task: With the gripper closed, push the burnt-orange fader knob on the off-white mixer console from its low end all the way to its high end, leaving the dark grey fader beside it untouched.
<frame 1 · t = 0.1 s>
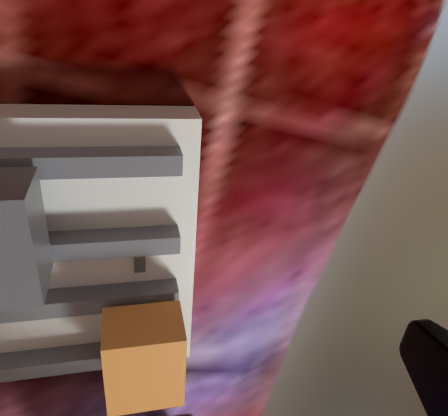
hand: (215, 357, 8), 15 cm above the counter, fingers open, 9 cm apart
console: (26, 248, 23), on the counter
fader orange: (143, 348, 22), point 4 cm above the counter, slide at 0.0 cm
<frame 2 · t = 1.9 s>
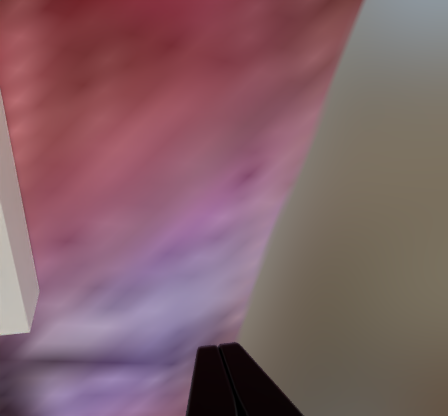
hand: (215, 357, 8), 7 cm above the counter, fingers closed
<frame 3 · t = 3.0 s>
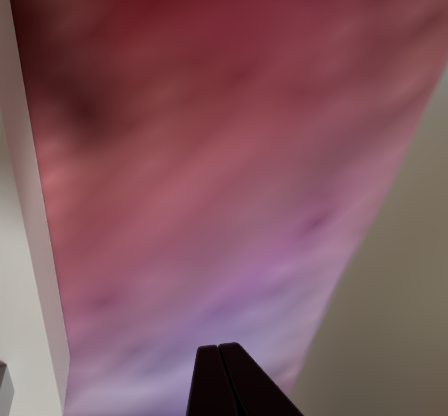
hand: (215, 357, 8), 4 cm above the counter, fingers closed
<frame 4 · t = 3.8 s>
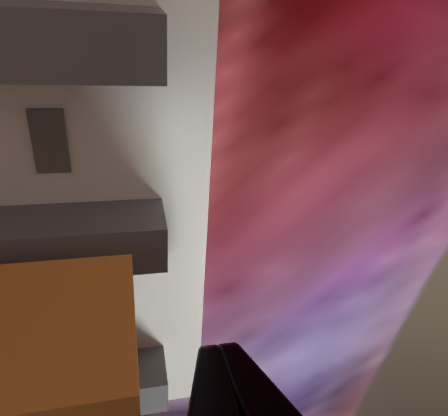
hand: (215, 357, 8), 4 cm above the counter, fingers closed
fader orange: (25, 400, 7), point 4 cm above the counter, slide at 0.7 cm, touching gripper
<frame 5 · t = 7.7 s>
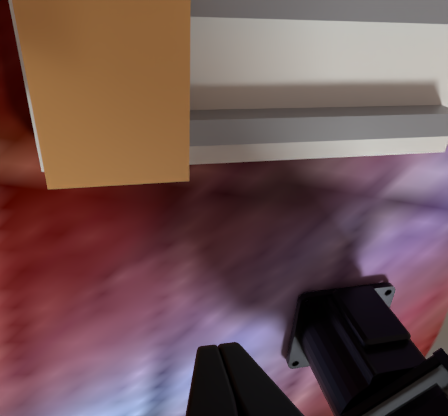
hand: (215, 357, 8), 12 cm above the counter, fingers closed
fader orange: (113, 80, 12), point 4 cm above the counter, slide at 12.0 cm
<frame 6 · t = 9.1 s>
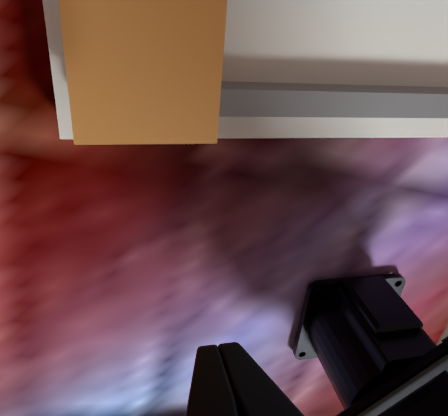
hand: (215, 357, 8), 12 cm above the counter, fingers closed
fader orange: (142, 39, 12), point 4 cm above the counter, slide at 12.0 cm
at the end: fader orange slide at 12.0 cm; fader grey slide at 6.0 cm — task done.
